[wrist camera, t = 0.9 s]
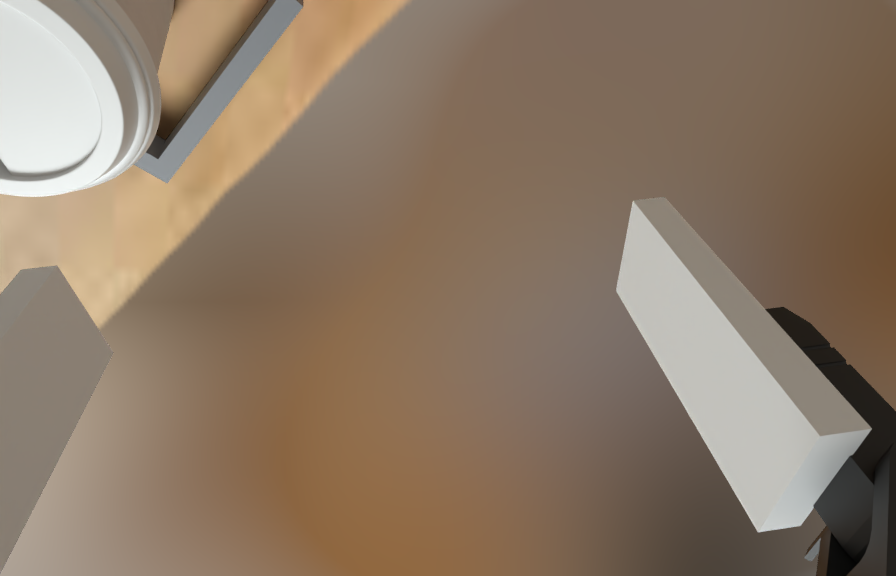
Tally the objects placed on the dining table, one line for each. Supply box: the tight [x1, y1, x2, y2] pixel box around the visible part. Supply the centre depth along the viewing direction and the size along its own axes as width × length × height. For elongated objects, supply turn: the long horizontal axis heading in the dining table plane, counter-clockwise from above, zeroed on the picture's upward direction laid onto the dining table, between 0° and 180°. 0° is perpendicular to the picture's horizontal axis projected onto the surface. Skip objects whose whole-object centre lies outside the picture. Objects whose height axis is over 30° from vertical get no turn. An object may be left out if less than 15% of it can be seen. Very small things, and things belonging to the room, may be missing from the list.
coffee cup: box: [0, 0, 174, 197], centre depth 23 cm, size 10×10×15 cm
